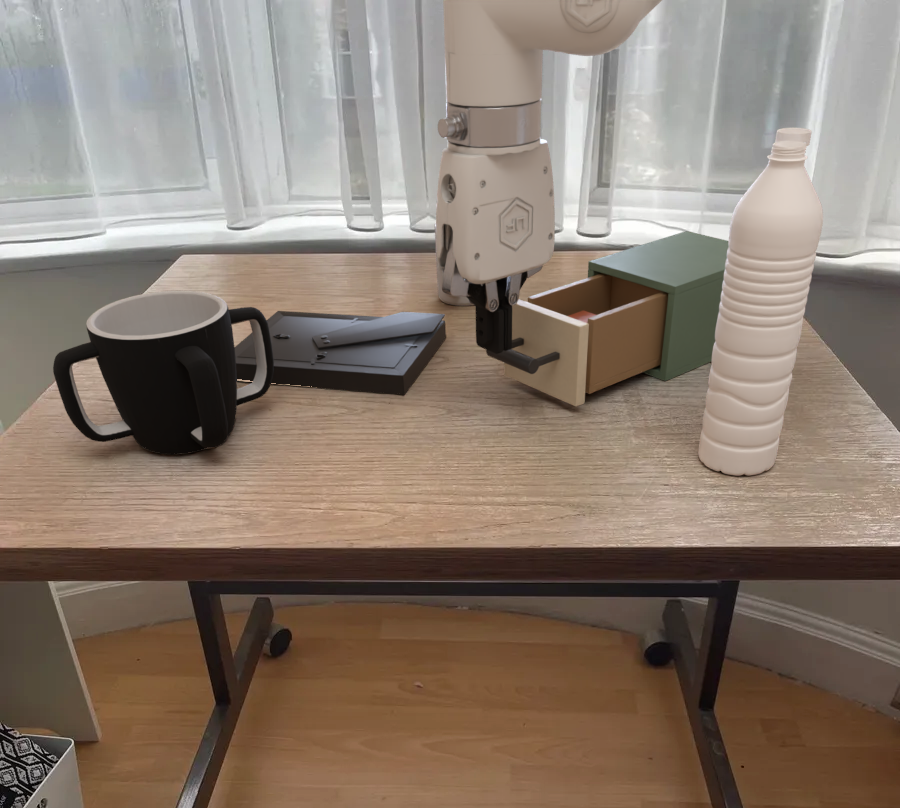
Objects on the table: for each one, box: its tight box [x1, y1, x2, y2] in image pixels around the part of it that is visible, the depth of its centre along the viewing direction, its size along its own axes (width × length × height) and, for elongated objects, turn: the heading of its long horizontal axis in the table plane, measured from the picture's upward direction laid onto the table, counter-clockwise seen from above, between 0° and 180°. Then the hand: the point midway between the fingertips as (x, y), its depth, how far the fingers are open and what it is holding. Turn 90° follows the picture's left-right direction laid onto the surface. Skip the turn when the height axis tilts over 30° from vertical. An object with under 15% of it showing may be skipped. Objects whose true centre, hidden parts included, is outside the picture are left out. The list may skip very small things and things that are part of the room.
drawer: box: [485, 273, 669, 407], centre depth 89 cm, size 19×10×8 cm, turn 129°
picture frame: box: [234, 310, 447, 396], centre depth 99 cm, size 16×3×21 cm
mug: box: [52, 290, 274, 455], centre depth 82 cm, size 16×16×12 cm
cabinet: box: [587, 230, 729, 382], centre depth 96 cm, size 16×12×10 cm
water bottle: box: [697, 127, 824, 476], centre depth 71 cm, size 9×6×25 cm
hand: (493, 347), depth 83 cm, fingers closed
